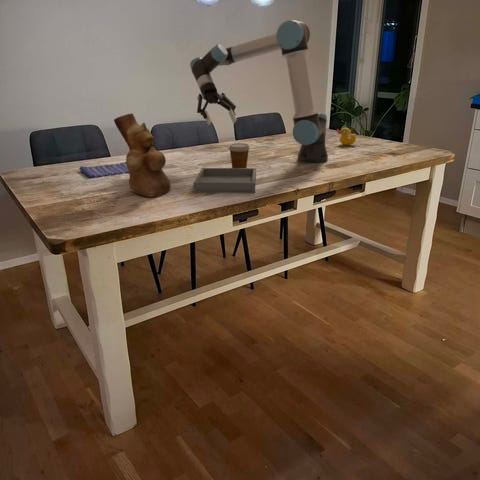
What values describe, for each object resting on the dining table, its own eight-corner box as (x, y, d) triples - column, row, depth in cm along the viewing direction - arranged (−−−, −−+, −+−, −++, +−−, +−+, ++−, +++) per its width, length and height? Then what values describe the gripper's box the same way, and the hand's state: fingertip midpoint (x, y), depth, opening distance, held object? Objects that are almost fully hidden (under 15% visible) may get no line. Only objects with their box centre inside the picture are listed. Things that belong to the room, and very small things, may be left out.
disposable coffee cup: (225, 172, 210) (225, 146, 205) (233, 167, 218) (233, 142, 214) (245, 174, 207) (245, 147, 202) (252, 169, 215) (252, 143, 210)
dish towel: (78, 171, 215) (78, 166, 214) (127, 165, 226) (127, 159, 225) (88, 180, 202) (87, 173, 200) (139, 172, 213) (139, 166, 212)
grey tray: (256, 177, 202) (256, 168, 200) (254, 192, 180) (254, 183, 178) (202, 176, 203) (201, 167, 202) (194, 192, 181) (193, 182, 179)
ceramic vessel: (152, 200, 171) (145, 118, 160) (111, 192, 182) (101, 114, 171) (178, 190, 184) (174, 113, 172) (138, 182, 195) (131, 110, 183)
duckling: (334, 144, 268) (335, 127, 264) (337, 143, 272) (338, 126, 268) (353, 146, 263) (355, 128, 259) (356, 144, 267) (357, 127, 263)
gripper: (226, 91, 230) (242, 125, 224) (181, 93, 218) (196, 129, 212) (232, 80, 224) (248, 115, 218) (185, 82, 212) (201, 119, 206)
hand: (222, 122), depth 215 cm, fingers open, 13 cm apart
